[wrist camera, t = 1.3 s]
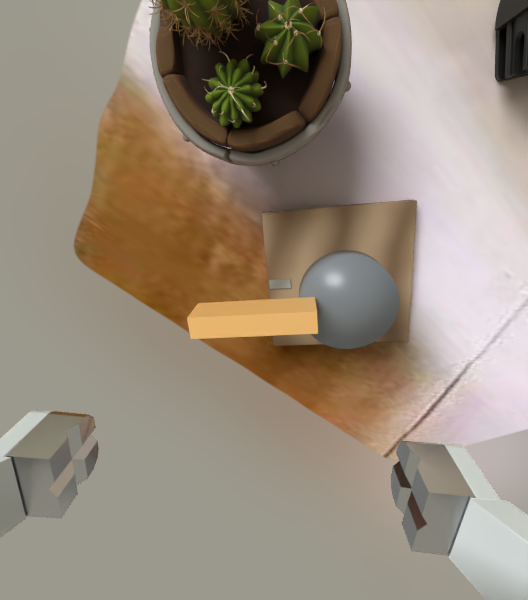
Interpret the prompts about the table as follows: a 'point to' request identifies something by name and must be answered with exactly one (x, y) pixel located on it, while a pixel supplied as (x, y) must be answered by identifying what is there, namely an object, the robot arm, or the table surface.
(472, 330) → the table surface
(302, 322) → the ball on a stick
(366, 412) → the table surface
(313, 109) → the flowerpot
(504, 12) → the black slotted holder
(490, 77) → the table surface
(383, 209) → the base plate
